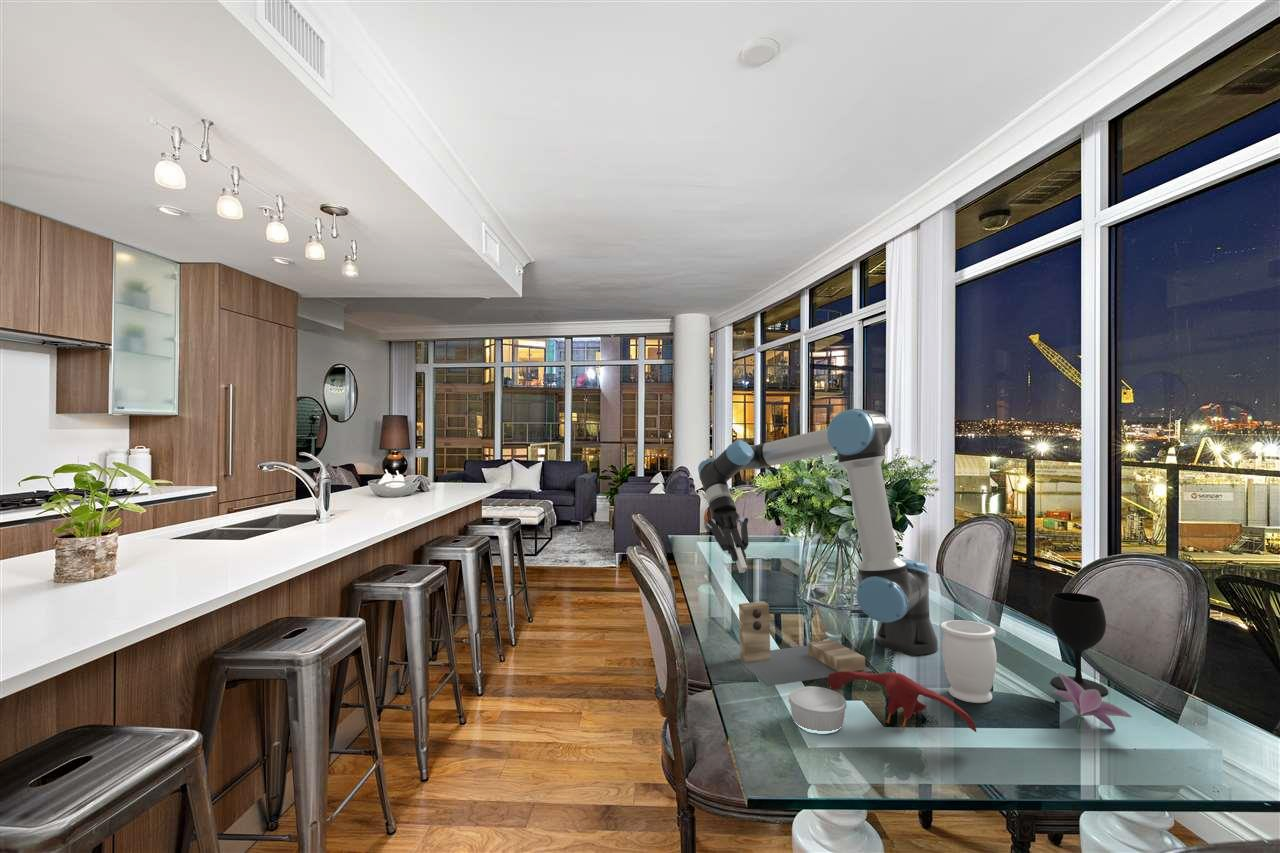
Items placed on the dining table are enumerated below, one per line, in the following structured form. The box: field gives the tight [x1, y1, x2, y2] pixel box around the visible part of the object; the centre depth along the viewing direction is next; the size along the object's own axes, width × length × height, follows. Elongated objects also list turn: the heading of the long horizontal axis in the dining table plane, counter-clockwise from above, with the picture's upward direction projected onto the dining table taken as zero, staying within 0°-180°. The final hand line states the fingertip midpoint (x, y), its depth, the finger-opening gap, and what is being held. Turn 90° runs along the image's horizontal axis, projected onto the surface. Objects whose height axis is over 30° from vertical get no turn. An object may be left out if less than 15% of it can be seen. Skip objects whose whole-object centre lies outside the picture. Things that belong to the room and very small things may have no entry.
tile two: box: [738, 601, 771, 663], centre depth 152 cm, size 3×7×14 cm, turn 105°
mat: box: [731, 645, 874, 687], centre depth 149 cm, size 28×20×1 cm
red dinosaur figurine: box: [827, 671, 978, 733], centre depth 118 cm, size 28×9×15 cm
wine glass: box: [1047, 592, 1109, 698], centre depth 133 cm, size 10×10×20 cm
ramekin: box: [788, 685, 847, 731], centre depth 119 cm, size 11×11×5 cm
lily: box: [1051, 672, 1133, 734], centre depth 114 cm, size 12×12×10 cm
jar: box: [941, 619, 997, 704], centre depth 130 cm, size 11×10×15 cm
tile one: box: [807, 639, 867, 672], centre depth 148 cm, size 3×7×14 cm
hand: (743, 570), depth 164 cm, fingers closed
